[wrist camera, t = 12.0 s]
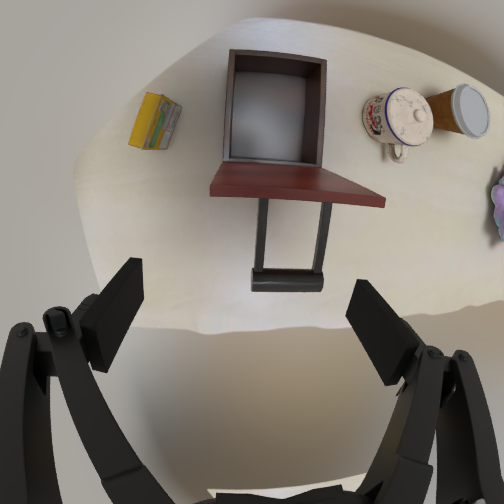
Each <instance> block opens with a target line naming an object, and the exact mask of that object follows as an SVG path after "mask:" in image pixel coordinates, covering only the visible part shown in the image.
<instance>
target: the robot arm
mask: <svg viewBox="0 0 504 504" xmlns="http://www.w3.org/2000/svg"><path fill="white" fill-rule="evenodd" d="M143 300H144V290H143V268H142V259H141V258H132V257H130V258H129V259H128V261H127V262H126V263H125V264H124V265H123V266H122V268H121V269H120V270H119V271H118V272H117V273H116V275H115V276H114V277H113V278H112V279H111V281H110V282H109V283H108V284H107V286H106V287H105V288H104V289H103V290H102V292H101V293H100V294H99V295H97V294H91V295H89V296H88V297H86V298H85V299H84V300H83V301H82V302H81V304H80V305H79V306H78V307H77V309H76V310H75V311H74V312H73V313H72V314H71V312H70V311H69V309H68V308H66V307H61V306H58V307H53V308H50V309H48V310H47V311H46V312H45V313H44V314H43V321H44V325H45V328H46V331H47V332H35V330H34V327H33V326H32V324H30V323H27V322H22V323H18V324H16V325H15V326H14V327H12V328H11V331H10V333H9V336H8V340H7V343H6V347H5V351H4V356H3V360H2V364H1V368H0V504H62V499H61V495H60V490H59V485H58V480H57V474H56V468H55V462H54V455H53V445H52V434H51V419H50V376H56V377H58V378H59V381H60V385H61V388H62V391H63V394H64V397H65V400H66V403H67V406H68V408H69V411H70V414H71V416H72V419H73V422H74V424H75V426H76V429H77V431H78V434H79V436H80V438H81V440H82V443H83V445H84V447H85V449H86V451H87V453H88V455H89V457H90V459H91V461H92V463H93V465H94V467H95V469H96V471H97V473H98V474H99V477H100V479H101V483H102V486H103V488H104V489H105V491H106V493H107V494H108V496H109V498H110V499H111V501H112V502H113V504H175V503H174V502H173V500H172V499H171V498H170V497H169V496H168V494H167V493H166V492H165V491H164V489H163V488H162V487H161V486H160V484H159V483H158V482H157V480H156V479H155V478H154V477H153V475H152V474H151V473H150V471H149V470H148V469H147V468H146V466H145V465H143V463H142V462H141V461H140V459H139V458H138V456H137V455H136V453H135V452H134V450H133V449H132V447H131V445H130V444H129V442H128V441H127V439H126V437H125V436H124V434H123V432H122V431H121V429H120V427H119V426H118V424H117V422H116V420H115V418H114V417H113V415H112V413H111V411H110V409H109V408H108V405H107V403H106V402H105V399H104V398H103V395H102V393H101V391H100V389H99V387H98V385H97V383H96V381H95V379H94V376H93V374H92V372H91V370H90V367H89V365H88V363H89V361H90V364H91V367H92V370H96V371H100V372H104V373H107V372H108V370H109V368H110V366H111V364H112V361H113V359H114V357H115V355H116V353H117V351H118V349H119V347H120V345H121V343H122V341H123V339H124V337H125V335H126V333H127V330H128V329H129V327H130V325H131V323H132V321H133V319H134V317H135V315H136V313H137V311H138V310H139V308H140V306H141V304H142V302H143ZM345 316H346V318H347V319H348V321H349V323H350V324H351V326H352V328H353V330H354V331H355V333H356V335H357V336H358V338H359V340H360V342H361V343H362V345H363V347H364V349H365V350H366V352H367V354H368V356H369V358H370V359H371V361H372V363H373V365H374V367H375V368H376V370H377V372H378V374H379V376H380V377H381V379H382V381H383V383H384V385H385V386H390V385H396V384H397V383H398V382H399V380H400V378H401V376H403V378H404V380H405V382H404V383H403V385H402V387H401V388H400V390H399V391H398V393H397V394H396V396H398V395H399V397H398V400H397V403H396V406H395V408H394V411H393V414H392V417H391V420H390V422H389V425H388V428H387V430H386V432H385V435H384V437H383V440H382V442H381V444H380V447H379V449H378V451H377V453H376V456H375V458H374V460H373V462H372V464H371V466H370V468H369V470H368V472H367V474H366V476H365V478H364V480H363V482H362V484H361V485H360V487H359V488H358V489H357V490H356V491H355V492H352V491H344V490H343V488H342V485H335V486H330V487H324V488H317V489H312V490H310V491H307V492H304V493H301V494H298V495H295V496H292V497H289V498H286V499H277V498H270V497H264V496H259V495H253V494H234V493H216V498H214V499H207V500H203V501H200V502H197V503H194V504H423V502H424V500H425V497H426V493H427V490H428V487H429V484H430V481H431V477H432V474H433V466H432V465H428V460H429V456H430V452H431V448H432V444H433V440H434V435H435V430H436V437H437V438H436V439H437V491H436V504H504V482H503V479H502V476H501V470H500V462H499V455H498V449H497V444H496V438H495V434H494V429H493V425H492V420H491V417H490V412H489V409H488V405H487V401H486V398H485V394H484V391H483V388H482V384H481V382H480V378H479V375H478V373H477V370H476V367H475V364H474V361H473V359H472V357H471V356H470V355H469V353H468V352H466V351H463V350H456V351H455V353H454V354H453V356H452V357H447V356H444V354H443V353H442V351H441V350H439V349H438V348H436V347H434V346H426V344H425V343H424V342H423V341H422V340H421V338H420V337H419V336H418V335H417V333H415V331H414V330H413V329H412V327H411V326H410V325H409V324H408V323H407V322H406V321H405V320H403V319H402V318H400V317H399V316H398V315H397V314H396V313H395V312H394V310H393V309H392V308H391V307H390V306H389V304H388V303H387V302H386V301H385V300H384V299H383V297H382V296H381V295H380V294H379V293H378V292H377V291H376V289H375V288H374V287H373V286H372V285H371V284H370V283H369V281H368V280H362V279H357V281H356V284H355V287H354V290H353V294H352V297H351V300H350V303H349V306H348V309H347V312H346V315H345ZM455 388H456V389H455ZM454 390H455V391H454Z"/></svg>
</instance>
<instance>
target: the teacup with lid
mask: <svg viewBox="0 0 504 504" xmlns="http://www.w3.org/2000/svg"><path fill="white" fill-rule="evenodd" d="M363 122H364V125H365V128H366V130H367V131H368V133H369V134H370V135H371V136H372V137H373V138H374V139H375V140H377V141H379V142H382V143H388V153H389V156H390V158H391V159H392V160H393V161H394V162H396V163H403V162H404V161H405V160H406V158H407V155H408V146H418V145H421V144H423V143H424V142H426V141H427V140H428V138H429V137H430V135H431V133H432V130H433V115H432V111H431V109H430V106H429V104H428V103H427V101H426V100H425V99H424V97H423V96H422V95H420V94H419V93H418V92H416V91H414V90H412V89H409V88H398V89H395V90H394V91H392V92H389V93H386V94H382V95H379V96H375V97H373V98H371V99H370V100H368V102H367V103H366V104H365V106H364V109H363ZM394 144H401V153H400V156H399V158H398V157H397V156H396V154H395V148H394Z"/></svg>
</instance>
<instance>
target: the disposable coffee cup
mask: <svg viewBox="0 0 504 504" xmlns="http://www.w3.org/2000/svg"><path fill="white" fill-rule="evenodd" d="M426 101H427V103H428V104H429V106H430V109H431V111H432V115H433V128H437V129H443V130H447V131H452V132H456V133H460V134H465V135H467V136H468V137H470V138H473V139H478V138H480V137H481V136H484V135H485V134H486V133H487V131H488V129H489V125H490V114H489V109H488V105H487V103H486V101H485V98H484V97H483V95H482V94H481V92H480V91H479V90H478V89H476V88H475V87H473V86H470V85H468V84H460V85H458V86H457V87H456V88H455V89H452V90H449V91H446V92H443V93H440V94H438V95H435V96H432V97H430V98H427V99H426Z"/></svg>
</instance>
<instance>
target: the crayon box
mask: <svg viewBox="0 0 504 504" xmlns="http://www.w3.org/2000/svg"><path fill="white" fill-rule="evenodd" d="M180 111H181V107H180V106H179V105H177V104H176V103H174V102H173V101H172V100H170V99H168V98H167V97H165V96H164V95H163V94H161V95H157V94H153V93H149V92H147V93H146V95H145V97H144V100H143V102H142V105H141V108H140V110H139V113H138V116H137V118H136V121H135V124H134V127H133V130H132V133H131V137H130V140H129V143H128V144H129V145H131V146H135V147H138V148H142V150H143V149H144V150H165V149H167V146H168V143H169V140H170V137H171V134H172V132H173V129H174V126H175V124H176V121H177V118H178V116H179V113H180Z"/></svg>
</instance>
